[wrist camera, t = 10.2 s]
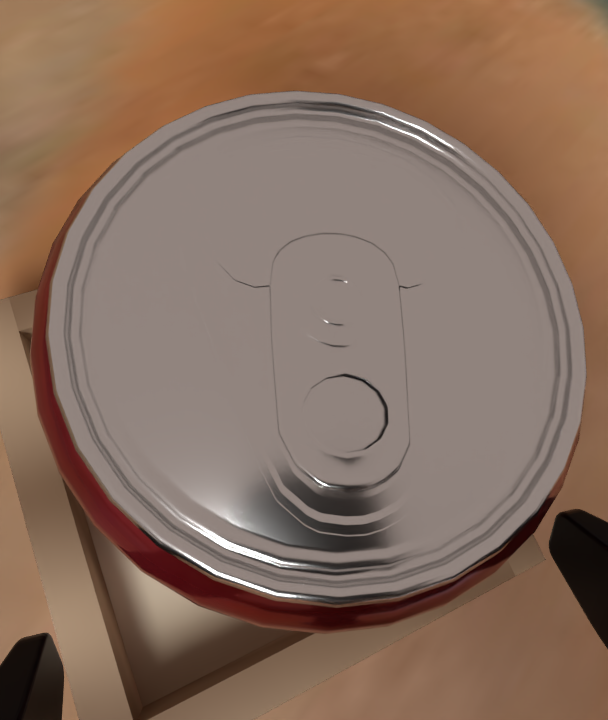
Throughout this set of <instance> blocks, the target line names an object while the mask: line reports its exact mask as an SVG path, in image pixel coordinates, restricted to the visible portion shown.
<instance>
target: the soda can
mask: <svg viewBox="0 0 608 720" xmlns="http://www.w3.org/2000/svg"><path fill="white" fill-rule="evenodd" d="M30 364H31V371H32V378H33V386H34V393H35V400H36V408H37V415H38V418H39V421H40V423H41V426H42V429H43V431H44V434H45V437H46V439H47V442H48V445H49V447H50V450H51V453H52V455H53V458H54V460H55V463H56V466H57V468H58V471H59V473H60V475H61V477H62V478H63V480H64V481H65V483H66V484H67V486H68V487H69V489H70V490H71V492H72V493H73V495H74V496H75V498H76V499H77V501H78V502H79V504H80V505H81V507H82V508H83V510H84V511H85V513H86V514H87V516H88V517H89V519H90V520H91V522H92V523H93V525H94V526H95V527H96V528H97V529H98V530H99V531H100V532H101V533H102V534H103V535H104V536H105V537H106V538H107V539H108V540H109V541H110V542H111V543H112V544H113V545H114V546H115V547H116V548H117V549H119V550H120V551H121V552H122V553H123V554H124V555H125V556H126V557H127V558H128V559H129V560H130V561H131V562H132V563H133V564H134V565H135V566H136V567H137V568H138V569H139V570H140V571H141V572H143V573H145V574H146V575H148V576H149V577H151V578H153V579H154V580H156V581H158V582H159V583H161V584H163V585H164V586H166V587H168V588H169V589H171V590H173V591H174V592H176V593H177V594H179V595H181V596H182V597H184V598H186V599H187V600H189V601H191V602H192V603H194V604H196V605H197V606H199V607H202V608H205V609H208V610H211V611H214V612H217V613H220V614H223V615H226V616H229V617H232V618H235V619H238V620H241V621H244V622H247V623H250V624H253V625H255V626H258V627H262V628H272V629H281V630H291V631H301V632H310V633H320V634H330V633H339V632H347V631H355V630H364V629H372V628H380V627H388V626H391V625H393V624H396V623H399V622H402V621H404V620H407V619H410V618H413V617H416V616H418V615H421V614H424V613H427V612H429V611H432V610H435V609H438V608H441V607H443V606H445V605H447V604H448V603H450V602H451V601H453V600H454V599H456V598H457V597H459V596H461V595H462V594H464V593H465V592H467V591H468V590H470V589H471V588H473V587H474V586H476V585H478V584H479V583H481V582H482V581H484V580H485V579H487V578H488V577H490V576H492V575H493V574H494V573H495V572H496V571H497V570H498V569H499V568H500V567H501V566H502V565H503V564H504V563H505V562H506V561H507V560H508V559H509V558H510V557H511V556H512V555H513V554H514V553H515V552H516V550H517V549H518V548H519V547H520V546H521V545H522V544H523V543H524V542H525V541H526V540H527V539H528V538H529V537H530V536H531V535H532V534H533V533H534V532H535V531H536V529H537V527H538V526H539V524H540V522H541V521H542V519H543V517H544V516H545V514H546V513H547V511H548V509H549V508H550V506H551V504H552V503H553V501H554V500H555V498H556V496H557V495H558V493H559V491H560V490H561V488H562V486H563V483H564V480H565V477H566V475H567V472H568V469H569V466H570V463H571V460H572V457H573V454H574V452H575V449H576V446H577V443H578V440H579V434H580V427H581V419H582V411H583V403H584V396H585V386H586V378H587V375H586V360H585V345H584V330H583V325H582V321H581V317H580V313H579V309H578V305H577V301H576V297H575V293H574V289H573V285H572V282H571V280H570V278H569V276H568V273H567V271H566V269H565V267H564V265H563V262H562V260H561V258H560V256H559V253H558V251H557V249H556V247H555V244H554V242H553V241H552V239H551V238H550V236H549V235H548V233H547V232H546V230H545V229H544V227H543V226H542V224H541V223H540V221H539V220H538V218H537V217H536V215H535V214H534V212H533V211H532V209H531V208H530V206H529V205H528V203H527V202H526V201H525V200H524V199H523V198H522V197H521V196H520V195H519V194H518V193H517V191H516V190H515V189H514V188H513V187H512V186H511V185H510V184H509V183H508V182H507V181H506V179H505V178H504V177H503V176H502V175H501V174H500V173H499V172H498V171H497V170H496V169H494V168H493V167H492V166H491V165H490V164H488V163H487V162H486V161H485V160H483V159H482V158H481V157H480V156H478V155H477V154H476V153H475V152H473V151H472V150H471V149H470V148H468V147H467V146H466V145H465V144H463V143H462V142H460V141H458V140H457V139H455V138H453V137H451V136H450V135H448V134H446V133H445V132H443V131H441V130H439V129H438V128H436V127H434V126H433V125H431V124H429V123H427V122H426V121H424V120H421V119H419V118H416V117H414V116H411V115H409V114H406V113H404V112H401V111H399V110H396V109H394V108H391V107H389V106H386V105H384V104H380V103H375V102H371V101H367V100H362V99H358V98H354V97H350V96H345V95H341V94H331V93H317V92H304V91H287V92H275V93H264V94H252V95H247V96H243V97H239V98H235V99H231V100H228V101H224V102H220V103H216V104H212V105H209V106H205V107H203V108H201V109H199V110H197V111H194V112H192V113H190V114H188V115H186V116H184V117H182V118H179V119H177V120H175V121H173V122H171V123H169V124H167V125H164V126H162V127H161V128H159V129H158V130H157V131H155V132H154V133H153V134H151V135H150V136H148V137H147V138H146V139H144V140H143V141H142V142H140V143H139V144H137V145H136V146H135V147H133V148H132V149H130V150H129V151H128V152H126V153H125V154H124V155H123V156H121V157H120V158H119V159H117V160H116V161H115V162H113V163H112V164H111V165H110V166H109V167H108V168H107V170H106V171H105V172H104V173H103V174H102V175H101V176H100V177H99V178H98V179H97V180H96V182H95V183H94V184H93V185H92V186H91V187H90V188H89V189H88V190H87V191H86V192H85V193H84V195H83V196H82V197H81V198H80V199H79V200H78V202H77V204H76V205H75V207H74V209H73V210H72V212H71V214H70V215H69V217H68V219H67V220H66V222H65V224H64V226H63V227H62V229H61V231H60V232H59V234H58V236H57V237H56V239H55V241H54V243H53V244H52V247H51V250H50V254H49V257H48V260H47V263H46V266H45V269H44V272H43V275H42V278H41V281H40V284H39V287H38V291H37V294H36V298H35V304H34V315H33V326H32V337H31V348H30Z"/></svg>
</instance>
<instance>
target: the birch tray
mask: <svg viewBox="0 0 608 720" xmlns="http://www.w3.org/2000/svg"><path fill="white" fill-rule="evenodd" d="M37 291H38V289H37V290H34V291H30V292H27V293H23V294H19V295H16V296H12V297H9V298H5V299H1V300H0V430H1V434H2V438H3V441H4V445H5V449H6V452H7V456H8V460H9V464H10V467H11V471H12V475H13V478H14V482H15V486H16V489H17V493H18V497H19V500H20V504H21V508H22V511H23V515H24V519H25V522H26V526H27V530H28V533H29V537H30V541H31V545H32V548H33V552H34V556H35V559H36V563H37V567H38V570H39V574H40V578H41V581H42V585H43V589H44V592H45V596H46V600H47V603H48V607H49V611H50V615H51V618H52V622H53V626H54V629H55V633H56V637H57V640H58V644H59V648H60V651H61V655H62V659H63V662H64V666H65V670H66V673H67V677H68V681H69V684H70V688H71V692H72V696H73V699H74V703H75V707H76V710H77V714H78V718H79V720H254V719H256V718H257V717H259V716H261V715H263V714H265V713H267V712H268V711H270V710H272V709H274V708H276V707H278V706H279V705H281V704H283V703H285V702H287V701H288V700H290V699H292V698H294V697H296V696H298V695H299V694H301V693H303V692H305V691H307V690H309V689H310V688H312V687H314V686H316V685H318V684H320V683H321V682H323V681H325V680H327V679H329V678H331V677H332V676H334V675H336V674H338V673H340V672H341V671H343V670H345V669H347V668H349V667H351V666H352V665H354V664H356V663H358V662H360V661H362V660H363V659H365V658H367V657H369V656H371V655H373V654H374V653H376V652H378V651H380V650H382V649H383V648H385V647H387V646H389V645H391V644H393V643H394V642H396V641H398V640H400V639H402V638H404V637H405V636H407V635H409V634H411V633H413V632H415V631H416V630H418V629H420V628H422V627H424V626H426V625H427V624H429V623H431V622H433V621H435V620H436V619H438V618H440V617H442V616H444V615H446V614H447V613H449V612H451V611H453V610H455V609H457V608H458V607H460V606H462V605H464V604H466V603H468V602H469V601H471V600H473V599H475V598H477V597H479V596H480V595H482V594H484V593H486V592H488V591H489V590H491V589H493V588H495V587H497V586H499V585H500V584H502V583H504V582H506V581H508V580H510V579H511V578H513V577H515V576H517V575H519V574H521V573H522V572H524V571H526V570H528V569H530V568H531V567H533V566H535V565H537V564H539V563H541V562H542V561H544V560H546V559H545V557H544V555H543V553H542V551H541V549H540V547H539V545H538V543H537V541H536V539H535V537H534V536H533V534H532V535H531V536H530V537H529V538H528V539H527V540H526V541H525V542H524V543H523V544H522V545H521V546H520V547H519V548H518V549H517V550H516V552H515V553H514V554H513V555H512V556H511V557H510V558H509V559H508V560H507V561H506V562H505V563H504V564H503V565H502V566H501V567H500V568H499V569H498V570H497V571H496V572H495V573H494V574H493V575H492V576H490V577H488V578H487V579H485V580H484V581H482V582H481V583H479V584H478V585H476V586H474V587H473V588H471V589H470V590H468V591H467V592H465V593H464V594H462V595H461V596H459V597H457V598H456V599H454V600H453V601H451V602H450V603H448V604H447V605H445V606H443V607H441V608H438V609H435V610H432V611H429V612H427V613H424V614H421V615H418V616H416V617H413V618H410V619H407V620H404V621H402V622H399V623H396V624H393V625H391V626H388V627H380V628H372V629H364V630H355V631H347V632H339V633H330V634H320V633H310V632H301V631H291V630H281V629H272V628H262V627H258V626H255V625H253V624H250V623H247V622H244V621H241V620H238V619H235V618H232V617H229V616H226V615H223V614H220V613H217V612H214V611H211V610H208V609H205V608H202V607H199V606H197V605H196V604H194V603H192V602H191V601H189V600H187V599H186V598H184V597H182V596H181V595H179V594H177V593H176V592H174V591H173V590H171V589H169V588H168V587H166V586H164V585H163V584H161V583H159V582H158V581H156V580H154V579H153V578H151V577H149V576H148V575H146V574H145V573H143V572H141V571H140V570H139V569H138V568H137V567H136V566H135V565H134V564H133V563H132V562H131V561H130V560H129V559H128V558H127V557H126V556H125V555H124V554H123V553H122V552H121V551H120V550H119V549H117V548H116V547H115V546H114V545H113V544H112V543H111V542H110V541H109V540H108V539H107V538H106V537H105V536H104V535H103V534H102V533H101V532H100V531H99V530H98V529H97V528H96V527H95V526H94V525H93V523H92V522H91V520H90V519H89V517H88V516H87V514H86V513H85V511H84V510H83V508H82V507H81V505H80V504H79V502H78V501H77V499H76V498H75V496H74V495H73V493H72V492H71V490H70V489H69V487H68V486H67V484H66V483H65V481H64V480H63V478H62V477H61V475H60V473H59V471H58V468H57V466H56V463H55V460H54V458H53V455H52V453H51V450H50V447H49V445H48V442H47V439H46V437H45V434H44V431H43V429H42V426H41V423H40V421H39V418H38V415H37V408H36V400H35V393H34V386H33V378H32V371H31V364H30V348H31V337H32V326H33V315H34V304H35V298H36V294H37Z"/></svg>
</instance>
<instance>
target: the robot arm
mask: <svg viewBox="0 0 608 720" xmlns="http://www.w3.org/2000/svg"><path fill="white" fill-rule="evenodd" d="M549 550H550V553H551V555H552V558H553V559H554V561H555V563H556V565H557V566H558V568H559V570H560V571H561V573H562V575H563V577H564V578H565V580H566V582H567V583H568V585H569V587H570V589H571V590H572V592H573V594H574V595H575V597H576V599H577V601H578V602H579V604H580V606H581V607H582V609H583V611H584V613H585V614H586V616H587V618H588V620H589V621H590V623H591V624H592V626H593V628H594V629H595V631H596V632H597V634H598V635H599V637H600V638H601V640H602V641H603V643H604V644H605V646H606V647H607V649H608V522H606V521H604V520H602V519H600V518H598V517H596V516H594V515H592V514H590V513H587V512H585V511H583V510H580V509H573V510H568V511H564V512H560V513H559V514H558V515H557V516H556V518H555V522H554V525H553V529H552V533H551V536H550V540H549ZM63 688H64V670H63V665H62V662H61V659H60V657H59V654H58V652H57V649H56V647H55V644H54V641H53V639H52V637H51V635H50V634H49V633H41V634H36V635H32V636H28V637H24V638H22V639H20V640H19V641H18V642H17V643H16V644H15V645H14V646H13V648H12V649H11V651H10V652H9V654H8V655H7V657H6V658H5V659H4V661H3V662H2V664H1V665H0V720H62V705H63Z"/></svg>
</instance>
